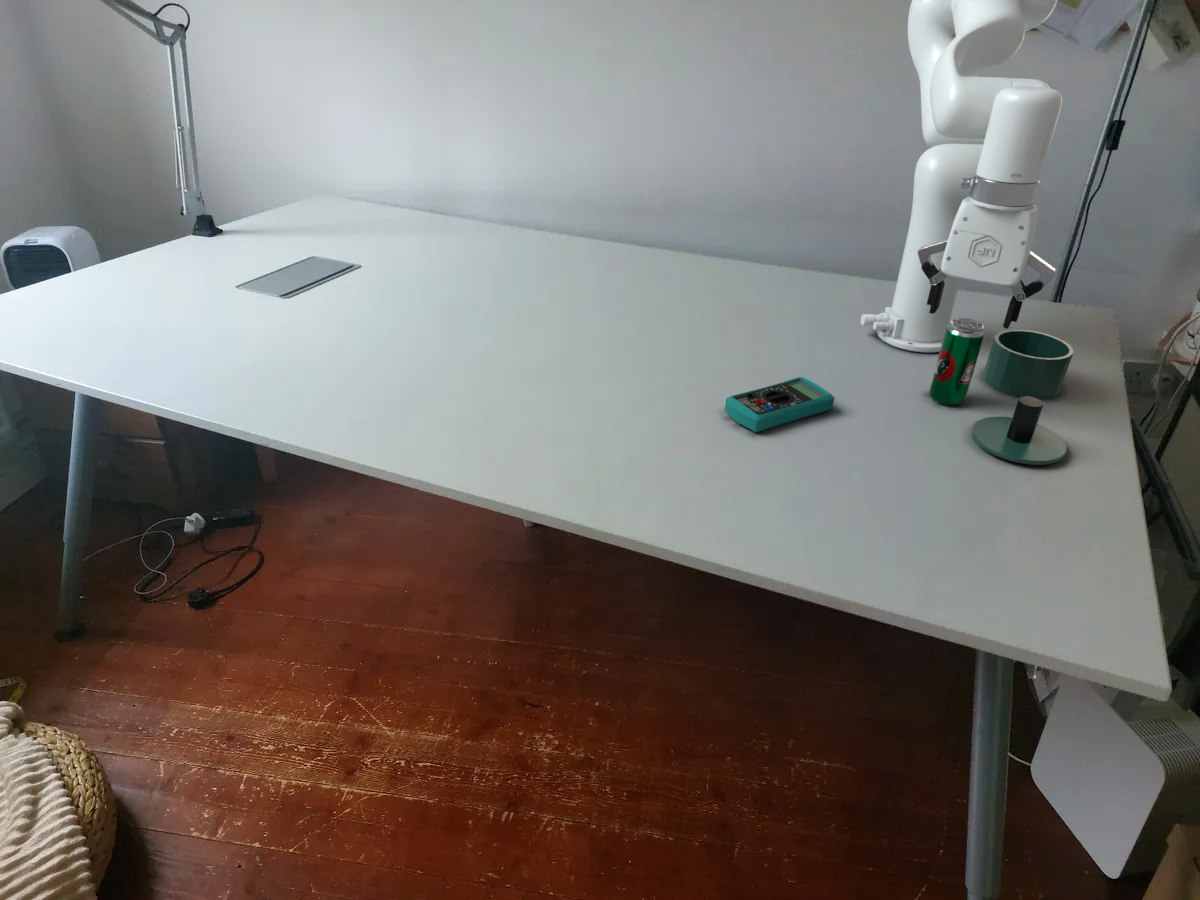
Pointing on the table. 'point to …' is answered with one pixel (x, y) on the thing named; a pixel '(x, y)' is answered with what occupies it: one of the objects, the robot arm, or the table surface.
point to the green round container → (1027, 363)
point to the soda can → (956, 361)
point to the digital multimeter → (778, 404)
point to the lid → (1020, 435)
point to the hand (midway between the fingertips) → (969, 317)
